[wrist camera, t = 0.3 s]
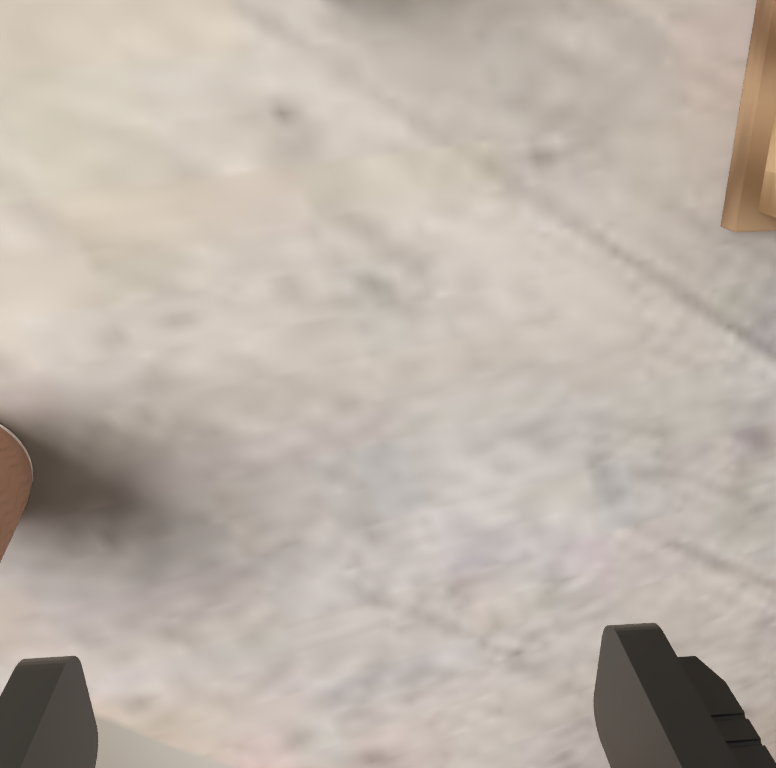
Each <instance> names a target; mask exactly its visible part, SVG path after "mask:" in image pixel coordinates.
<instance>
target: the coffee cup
mask: <svg viewBox="0 0 776 768" xmlns="http://www.w3.org/2000/svg"><path fill="white" fill-rule="evenodd" d="M32 481H33V467H32V463H31V459H30V457H29V454H28V452H27V450H26V448H25V447H24V446H23V444H22V443H21V441H20V440H19V439H18V438H17V437H16V436H15V435H14V434H13V433H12V432H11V431H10V430H8V429H7V428H5V427H4V426H3V425H1V424H0V562H1V560H2V557H3V555H4V553H5V551H6V549H7V547H8V544H9V542H10V540H11V538H12V536H13V533H14V531H15V529H16V527H17V525H18V522H19V520H20V517H21V516H22V514H23V511H24V509H25V507H26V505H27V502H28V499H29V497H30V496H29V493H30V490H31V486H32Z"/></svg>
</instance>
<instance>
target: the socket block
mask: <svg viewBox="0 0 776 768" xmlns="http://www.w3.org/2000/svg"><path fill="white" fill-rule="evenodd" d="M721 226H722V227H725V228H727V229H729V230H732V231H734V232H746V231H773V230H776V0H757V4H756V11H755V17H754V23H753V29H752V35H751V42H750V48H749V54H748V60H747V66H746V73H745V79H744V85H743V91H742V97H741V104H740V110H739V116H738V122H737V128H736V135H735V141H734V147H733V153H732V159H731V166H730V172H729V178H728V184H727V191H726V197H725V203H724V209H723V215H722V222H721Z"/></svg>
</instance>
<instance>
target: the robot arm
mask: <svg viewBox="0 0 776 768" xmlns="http://www.w3.org/2000/svg"><path fill="white" fill-rule="evenodd" d="M594 715H595V721H596V726H597V731H598V734H599V738H600V741H601V743H602V746H603V748H604V751H605V754H606V756H607V759H608V761H609V764H610V766H611V768H776V763H775V761H774V759H773V758H772V756H771V755H770V753H769V751H768V750H767V748H766V746H765V745H763V746H762V744H761V738H760V737H759V735H758V734H757V732H756V730H755V729H754V727H753V726H752V724H751V722H750V721H749V719H746V718H745V715H744V711H743V710H742V708H741V706H740V705H739V703H738V701H737V700H736V698H735V697H734V695H733V693H732V692H731V690H730V689H729V687H728V685H727V684H726V682H725V681H724V680H723V679H721V678H720V677H719V676H718V675H717V674H716V673H714V672H713V671H712V670H711V669H710V668H709V667H708V666H706V665H705V664H704V663H703V662H702V661H701V660H699V659H698V658H697V657H696V656H689V657H677V655H676V654H675V652H674V650H673V648H672V647H671V645H670V643H669V641H668V640H667V638H666V636H665V634H664V633H663V631H662V629H661V628H660V627H659V626H658V625H657V624H655V623H642V624H625V625H609V626H606V627H605V629H604V631H603V635H602V641H601V649H600V656H599V663H598V670H597V677H596V684H595V691H594ZM97 750H98V732H97V725H96V721H95V717H94V713H93V709H92V705H91V701H90V697H89V693H88V689H87V685H86V681H85V677H84V673H83V669H82V665H81V662H80V660H79V659H78V657H76V656H66V657H49V658H33V659H23V660H21V661H20V662H19V663H18V664H17V666H16V667H15V669H14V671H13V673H12V675H11V677H10V679H9V681H8V683H7V684H6V686H5V688H4V690H3V692H2V694H1V696H0V768H95V765H96V759H97Z"/></svg>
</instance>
